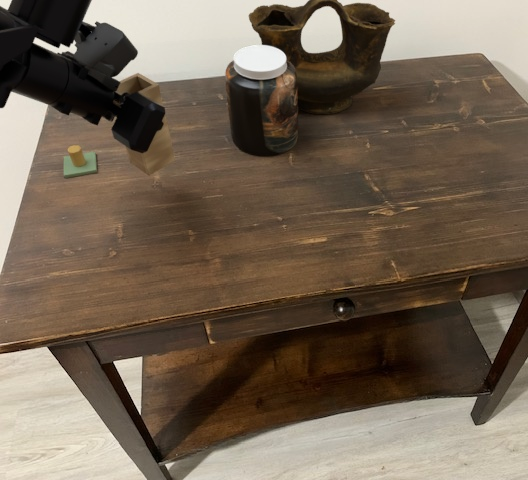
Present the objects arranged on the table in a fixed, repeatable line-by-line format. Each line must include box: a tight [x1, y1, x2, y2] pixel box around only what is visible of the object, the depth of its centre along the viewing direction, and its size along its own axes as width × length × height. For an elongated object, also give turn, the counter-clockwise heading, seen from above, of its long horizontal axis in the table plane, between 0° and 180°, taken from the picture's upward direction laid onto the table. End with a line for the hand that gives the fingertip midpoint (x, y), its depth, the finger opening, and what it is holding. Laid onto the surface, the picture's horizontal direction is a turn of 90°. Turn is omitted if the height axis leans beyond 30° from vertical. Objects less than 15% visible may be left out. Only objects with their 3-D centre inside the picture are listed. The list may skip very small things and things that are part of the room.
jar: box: [224, 44, 299, 157], centre depth 89 cm, size 12×12×15 cm
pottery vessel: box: [248, 0, 396, 115], centre depth 95 cm, size 25×11×20 cm, turn 98°
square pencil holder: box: [113, 72, 176, 176], centre depth 73 cm, size 5×4×12 cm
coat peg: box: [63, 144, 98, 179], centre depth 86 cm, size 5×5×4 cm
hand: (151, 119), depth 74 cm, fingers closed on square pencil holder, 4 cm apart
